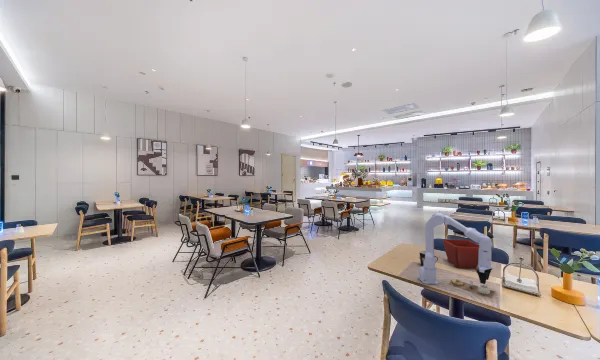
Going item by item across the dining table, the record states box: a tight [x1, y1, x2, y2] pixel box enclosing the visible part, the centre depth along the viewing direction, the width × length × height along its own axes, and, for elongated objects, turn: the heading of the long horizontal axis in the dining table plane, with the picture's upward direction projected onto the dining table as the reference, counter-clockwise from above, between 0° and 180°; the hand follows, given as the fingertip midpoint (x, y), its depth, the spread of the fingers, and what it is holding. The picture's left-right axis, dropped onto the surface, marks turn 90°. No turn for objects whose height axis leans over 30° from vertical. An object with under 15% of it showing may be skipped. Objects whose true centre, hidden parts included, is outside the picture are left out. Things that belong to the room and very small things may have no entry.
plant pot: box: [442, 238, 479, 270], centre depth 175 cm, size 19×19×17 cm
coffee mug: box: [419, 250, 439, 267], centre depth 173 cm, size 12×9×10 cm
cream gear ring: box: [477, 283, 491, 294], centre depth 134 cm, size 5×5×3 cm
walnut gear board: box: [447, 278, 497, 299], centre depth 138 cm, size 21×11×4 cm, turn 42°
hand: (484, 281), depth 134 cm, fingers open, 7 cm apart
